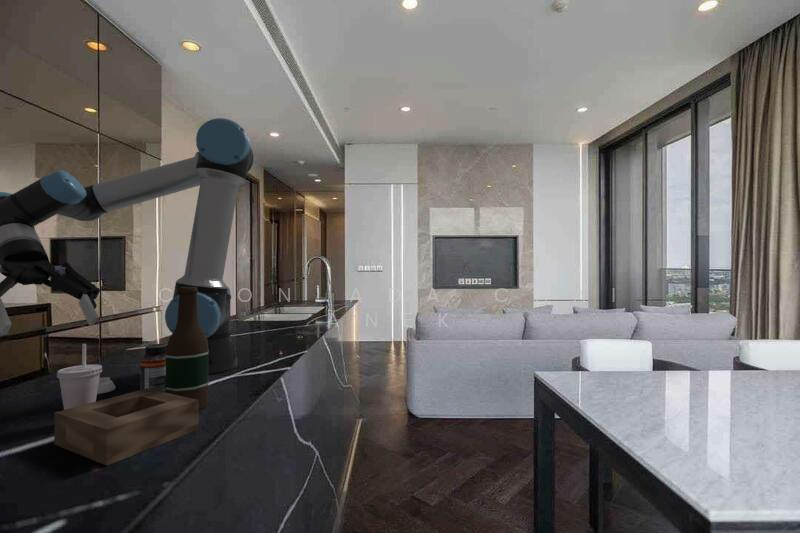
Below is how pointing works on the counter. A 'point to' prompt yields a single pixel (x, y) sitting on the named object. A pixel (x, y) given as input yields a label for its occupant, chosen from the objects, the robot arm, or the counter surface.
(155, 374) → the supplement bottle
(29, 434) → the counter surface
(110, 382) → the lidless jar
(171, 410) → the socket board
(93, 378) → the smoothie
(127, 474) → the counter surface
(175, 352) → the beer bottle
